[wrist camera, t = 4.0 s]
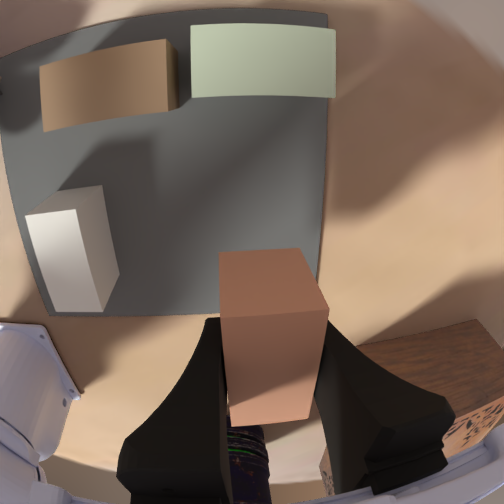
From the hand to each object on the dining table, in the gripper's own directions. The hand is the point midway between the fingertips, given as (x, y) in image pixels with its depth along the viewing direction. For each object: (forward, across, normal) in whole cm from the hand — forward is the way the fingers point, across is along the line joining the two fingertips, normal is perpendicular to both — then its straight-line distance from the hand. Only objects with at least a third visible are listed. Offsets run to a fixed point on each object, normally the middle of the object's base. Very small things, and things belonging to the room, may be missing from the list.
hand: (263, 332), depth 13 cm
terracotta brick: (+1, 0, 0) cm, 1 cm away
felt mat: (+8, +5, -4) cm, 11 cm away
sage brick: (+8, -1, -10) cm, 13 cm away
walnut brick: (+8, +6, -10) cm, 14 cm away
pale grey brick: (+8, +10, -2) cm, 13 cm away
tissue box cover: (+8, -17, +23) cm, 29 cm away
